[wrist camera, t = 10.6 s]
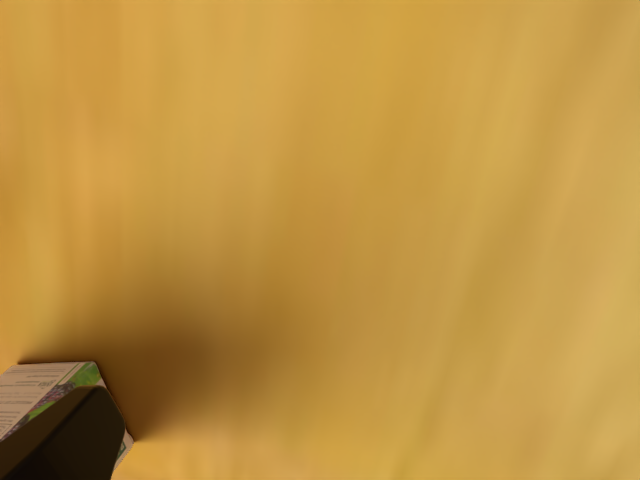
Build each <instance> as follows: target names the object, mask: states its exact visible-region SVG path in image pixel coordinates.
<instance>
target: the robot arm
mask: <svg viewBox="0 0 640 480" xmlns="http://www.w3.org/2000/svg"><path fill="white" fill-rule="evenodd" d="M125 429H126V426H125V419H124V417H123V415H122V413H121V412H120V410H119V408H118V406H117V405H116V403H115V401H114V400H113V398H112V396H111V394H110V393H109V391H108V390H107V388H105V387H104V386H101V385H81V386H78V387H76V388H74V389H73V390H72V391H70V392H69V393H67V394H66V395H65V396H63V397H62V398H60V399H59V400H58V401H56V402H55V403H53V404H52V405H51V406H49V407H48V408H47V409H45V410H44V411H42V412H41V413H40V414H38V415H37V416H35V417H34V418H33V419H31V420H30V421H28V422H27V423H26V424H24V425H23V426H21V427H20V428H19V429H17V430H16V431H15V432H13V433H12V434H10V435H9V436H8V437H6V438H5V439H3V440H2V441H1V442H0V480H111V476H112V473H113V470H114V467H115V464H116V461H117V457H118V454H119V451H120V448H121V445H122V442H123V438H124V435H125Z"/></svg>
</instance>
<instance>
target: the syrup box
mask: <svg viewBox="0 0 640 480" xmlns="http://www.w3.org/2000/svg"><path fill="white" fill-rule="evenodd" d="M81 385H101V386H104V387H105V388H106V386H105V383H104V381H103V379H102V377H101V375H100V373H99V369H98V367H97V365H96V363H95V362H66V363H41V364H24V365H13V366H11V367H10V368H9V369H7V370H6V371H5V372H4V373H3V374H2V375H0V442H1V441H2V440H3V439H5V438H6V437H8V436H9V435H10V434H12V433H13V432H15V431H16V430H17V429H19V428H20V427H21V426H23V425H24V424H26V423H27V422H28V421H30V420H31V419H33V418H34V417H35V416H37V415H38V414H40V413H41V412H42V411H44V410H45V409H47V408H48V407H49V406H51V405H52V404H53V403H55V402H56V401H58V400H59V399H60V398H62V397H63V396H65V395H66V394H67V393H69V392H70V391H72V390H73V389H74V388H76V387H78V386H81ZM133 444H134V441H133V439H132V437H131V436H130V435H129V434H128V433H127V431H126V429H125V435H124V438H123V442H122V445H121V448H120V451H119V454H118V457H117V461H116V464H115V467H114V470H115V469H116V468H117V466H118V465H119V464H120V462H121V461H122V460H123V458H124V457H125V456H126V455H127V453H128V452H129V451H130V449H131V448H132V445H133ZM114 470H113V471H114Z"/></svg>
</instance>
